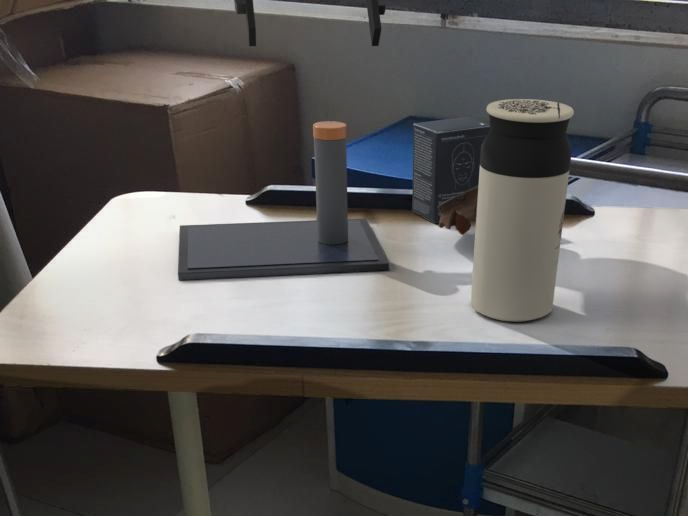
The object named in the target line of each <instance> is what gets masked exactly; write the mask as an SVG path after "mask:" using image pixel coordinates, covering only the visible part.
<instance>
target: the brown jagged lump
mask: <svg viewBox="0 0 688 516" xmlns="http://www.w3.org/2000/svg"><path fill="white" fill-rule="evenodd" d="M478 186H479V185H478ZM478 186H476V187H473V188H471V189H469V190H467V191H465V192H463V193H461V194H459V195H457V196H455V197H453V198H451V199H449V200H447V201H445V202H443V203H441V204H440V205H439V206H438V207H437V208H438V210H439V212H440V214H441V218H440V221H439V223H438V228H441V229H443V228H444V227H445V228H447V230H451V228H452V227H454V228H455V231H457V232H458V233H459V235H461V236H464V235H465V234H466V233H467V232H469V231H470V230H471V228H472V222H471V220H476V212H475V211H476V210H477V201H478Z"/></svg>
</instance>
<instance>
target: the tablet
mask: <svg viewBox="0 0 688 516" xmlns="http://www.w3.org/2000/svg"><path fill="white" fill-rule="evenodd" d="M178 233H179V234H178V254H177V255H178V257H177V263H178V264H177V278H178V281H192V280H193V281H194V280H195V281H197V280H212V279H213V280H215V279H216V280H217V279H235V278H236V279H237V278H256V277H278V276H280V277H281V276H299V275H315V274H316V275H317V274H318V275H320V274H342V273H361V272H362V273H363V272H380V271H381V272H382V271H383V272H384V271H390V262H389V260H388V258H387V256H386V255H385V252H384V251H383V248H382V246H381V245H380V243H379V241H378V239H377V237H376V235H375V233H374V231H373V228H372V227H371V225H370V224H369V221H368V219H367V218H365V217H364V218H348V241H347V242H345V243H343V244H338V245H328V244H323V243H320V242H319V241H318V231H317V219H316V220H311V219H310V220H290V221H289V220H288V221H285V220H284V221H263V222H262V221H261V222H259V221H258V222H240V223H239V222H236V223H212V224H211V223H208V224H182V225H179V232H178Z"/></svg>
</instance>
